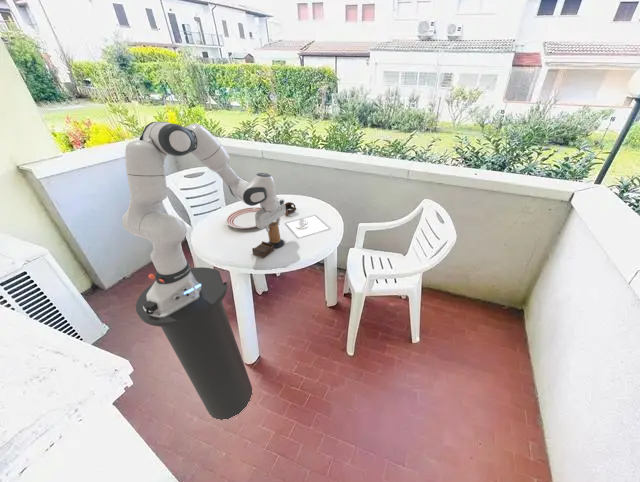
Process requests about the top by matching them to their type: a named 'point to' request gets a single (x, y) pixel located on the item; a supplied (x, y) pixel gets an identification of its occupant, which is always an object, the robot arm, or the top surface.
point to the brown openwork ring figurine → (289, 206)
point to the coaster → (277, 244)
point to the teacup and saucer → (307, 226)
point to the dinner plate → (243, 218)
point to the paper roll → (274, 233)
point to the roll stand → (263, 249)
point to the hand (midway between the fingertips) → (273, 228)
